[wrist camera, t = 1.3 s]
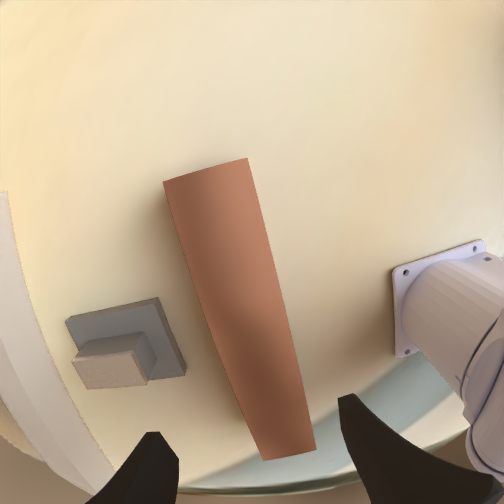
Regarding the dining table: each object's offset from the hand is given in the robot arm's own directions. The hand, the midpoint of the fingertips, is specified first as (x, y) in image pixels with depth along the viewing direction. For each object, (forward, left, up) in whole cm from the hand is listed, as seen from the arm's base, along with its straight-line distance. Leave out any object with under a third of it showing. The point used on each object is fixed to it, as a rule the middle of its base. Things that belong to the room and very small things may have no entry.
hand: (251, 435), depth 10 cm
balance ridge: (+10, 0, -10) cm, 14 cm away
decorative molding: (+24, +2, -11) cm, 26 cm away
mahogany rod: (0, 0, -11) cm, 11 cm away
